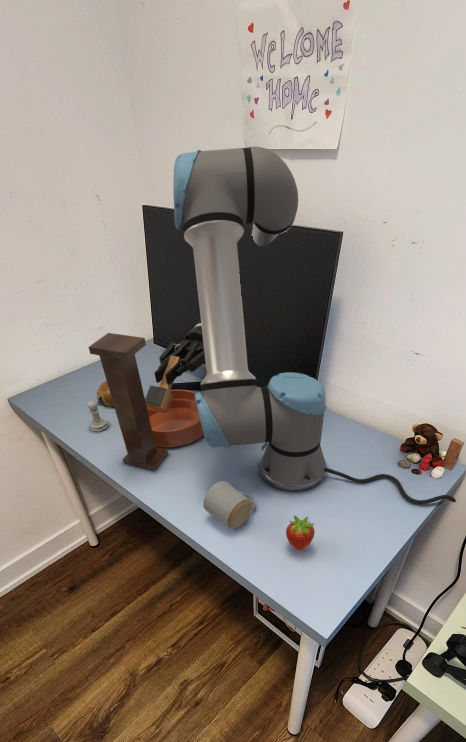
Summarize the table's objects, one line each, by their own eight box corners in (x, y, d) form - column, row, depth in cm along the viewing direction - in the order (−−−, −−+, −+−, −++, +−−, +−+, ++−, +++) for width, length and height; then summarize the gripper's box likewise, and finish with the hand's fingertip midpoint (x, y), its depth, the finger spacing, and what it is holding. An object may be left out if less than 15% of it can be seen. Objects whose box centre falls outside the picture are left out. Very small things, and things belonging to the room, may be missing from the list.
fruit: (291, 560, 82) (293, 533, 77) (281, 540, 86) (283, 513, 80) (316, 552, 83) (320, 526, 78) (306, 534, 87) (309, 507, 81)
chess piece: (87, 430, 117) (78, 405, 112) (97, 421, 120) (88, 396, 115) (102, 433, 116) (93, 408, 110) (111, 423, 119) (103, 398, 113)
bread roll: (125, 417, 127) (131, 396, 122) (91, 406, 124) (95, 383, 119) (132, 400, 134) (137, 379, 129) (99, 388, 131) (104, 366, 126)
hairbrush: (186, 361, 109) (180, 352, 105) (166, 413, 106) (160, 405, 102) (169, 358, 110) (163, 349, 107) (149, 409, 108) (142, 402, 104)
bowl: (222, 413, 120) (220, 396, 116) (190, 455, 107) (187, 438, 103) (160, 401, 126) (157, 384, 122) (123, 440, 113) (118, 423, 109)
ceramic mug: (230, 536, 87) (229, 511, 82) (204, 517, 91) (200, 491, 86) (264, 510, 92) (265, 484, 87) (238, 492, 97) (237, 466, 91)
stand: (168, 454, 108) (144, 337, 86) (154, 471, 103) (126, 352, 82) (138, 447, 111) (108, 332, 89) (123, 463, 106) (88, 347, 85)
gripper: (228, 354, 120) (191, 397, 105) (180, 347, 125) (138, 387, 110) (226, 328, 115) (187, 369, 100) (176, 322, 119) (132, 360, 104)
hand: (162, 378), depth 105 cm, fingers closed on hairbrush, 2 cm apart
